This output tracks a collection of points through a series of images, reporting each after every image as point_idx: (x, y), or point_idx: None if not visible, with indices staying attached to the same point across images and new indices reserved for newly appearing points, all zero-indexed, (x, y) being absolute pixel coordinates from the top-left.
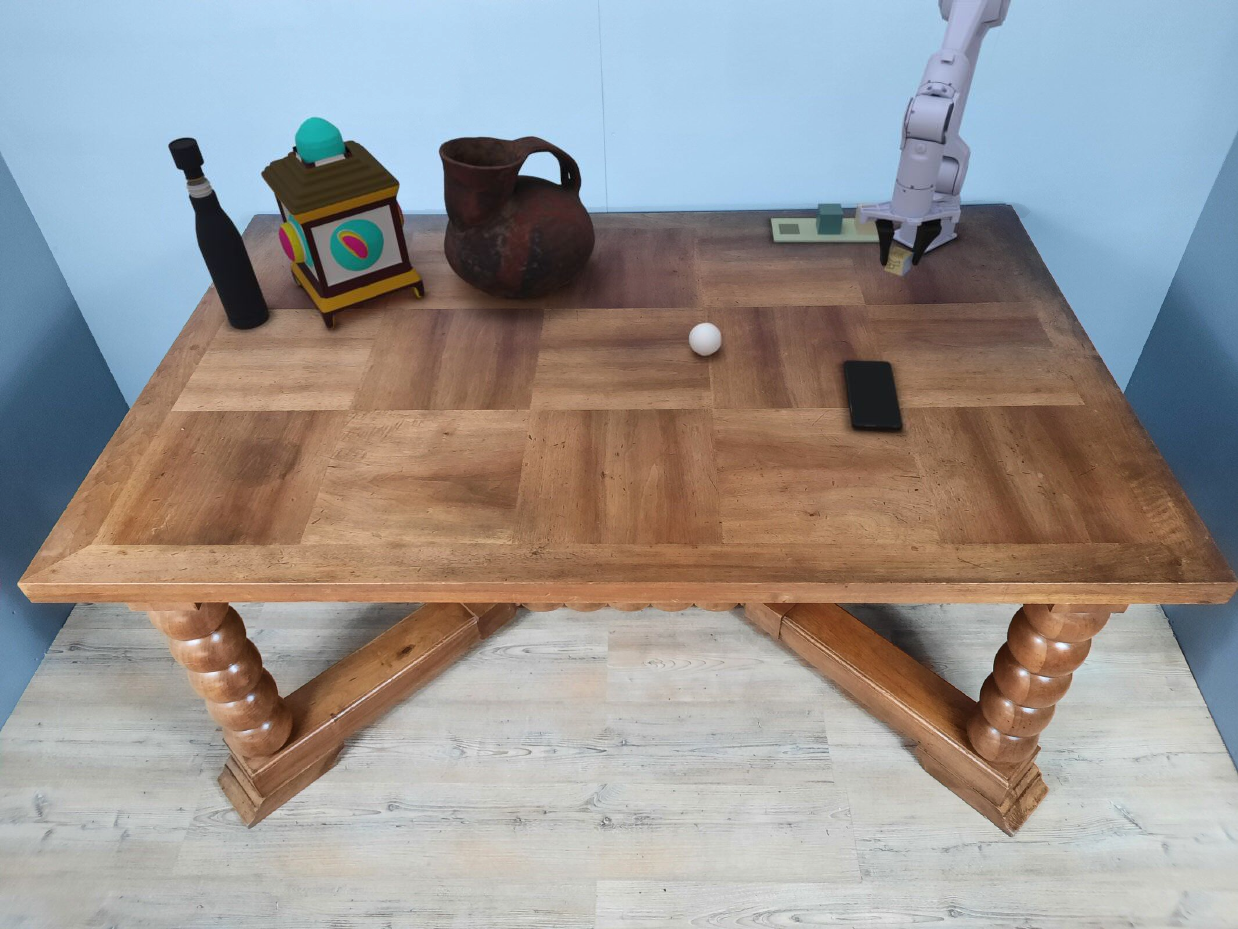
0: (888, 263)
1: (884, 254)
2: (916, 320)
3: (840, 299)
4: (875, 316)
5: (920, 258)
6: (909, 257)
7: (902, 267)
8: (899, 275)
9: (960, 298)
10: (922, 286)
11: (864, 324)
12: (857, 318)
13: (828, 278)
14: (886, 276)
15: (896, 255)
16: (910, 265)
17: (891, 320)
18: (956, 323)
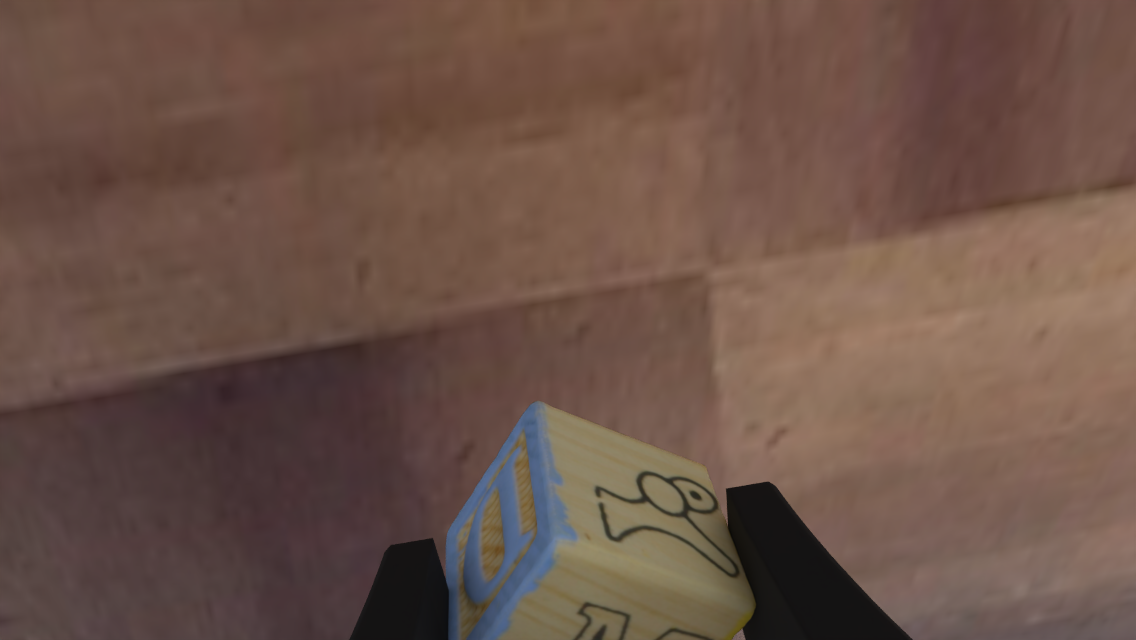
0: (703, 520)
1: (837, 584)
2: (332, 145)
3: (870, 303)
4: (648, 145)
5: (361, 617)
6: (495, 611)
7: (558, 475)
8: (559, 410)
9: (56, 448)
10: (326, 517)
11: (745, 21)
12: (788, 96)
13: (901, 490)
14: None
15: (651, 614)
16: (454, 552)
17: (527, 113)
18: (10, 157)
